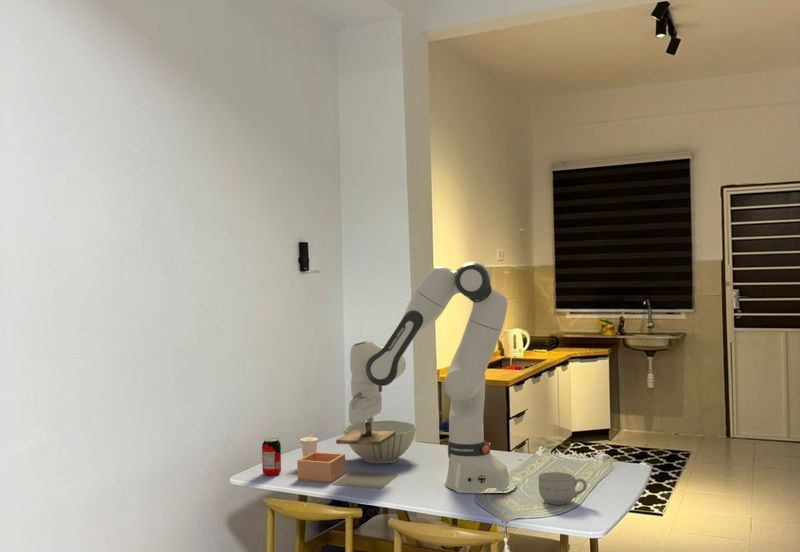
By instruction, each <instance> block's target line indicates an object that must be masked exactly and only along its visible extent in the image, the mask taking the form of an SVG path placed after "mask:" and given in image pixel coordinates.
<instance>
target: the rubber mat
mask: <svg viewBox="0 0 800 552" xmlns="http://www.w3.org/2000/svg"><path fill="white" fill-rule="evenodd" d="M398 476H399V474H392V473H381V472H369V471H367V472H364V471H353V470H352V471H350V472H349V473H347V474H346V475H345V476H343V477H341V478H340V479H339V480H337V481H336V482H334V483H333V484H332V486H336V487H346V488H347V487H348V488H349V487H350V488H361V489H374V490H382V489H383V488H385V487H386V486H387V485H389V484H390V483H391V482H392V481H394V479H396V478H397V477H398Z"/></svg>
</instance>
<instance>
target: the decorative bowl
mask: <svg viewBox="0 0 800 552" xmlns="http://www.w3.org/2000/svg"><path fill="white" fill-rule="evenodd" d="M366 422H367V420H366ZM354 430H360V428H359V425H358V424H351V423H350V424H348V425H346V426H345V427H344V428H343V434H344V435H343V436H345V435H346V434H348V433H350V432H352V431H354ZM372 431H395V434H396V435H395V436H393V437H392V438H390V439H389V440H387V441H386V442H384V443H383V444H381V445H357V444H348V445H349V448H351V450H352V451H353V452H354V453H355V455H357V456H358V457H360V458H362V459H363V462H366V463H371V464H394V463H396V462H397V461H398V458H400V457H401V456H402V455H403V454H404V453H406V452H407V450H409V448H410V447H411V445H412V443H413V441H414V438H415V435H416V433H417V426H416V425H415V424H414V423H411V422H406V421H401V420H386V419H385V420H373V424H372Z"/></svg>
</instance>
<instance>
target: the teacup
mask: <svg viewBox="0 0 800 552" xmlns="http://www.w3.org/2000/svg"><path fill="white" fill-rule="evenodd" d="M537 475H538V476H537V477H538V491H539V493H538V494H539V496H540V497H541V498H542V499H543V500H544V501H545V502H546V503H547V504H550V505H557V504H562V505H566V504H565V503H567V504H569V503H570V502H571V501H572V500H574V499H576V498H577V497H578V496H579V495H581V494H583V493H584V492H585V491H586V490H587V487H588V484H587V480H585V478H582V477H577V478H576V475H575V474H572V473H570V472H569V473H568V472H563V471H561V472H560V471H547V472H541V473H539V474H537ZM578 482H581V483H582V485H583V486H582V488H581V489H580V490H578V491H576V487H577V484H578ZM568 502H569V503H568Z"/></svg>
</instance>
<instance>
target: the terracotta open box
mask: <svg viewBox="0 0 800 552" xmlns="http://www.w3.org/2000/svg"><path fill="white" fill-rule="evenodd" d="M296 466H297V481H305V482H317V483H330V484H331V483H333V482H334V481H336V480H337V479H339V478H340V477H341V476H344V474H346V454H345V453H334V452H332V453H331V452H320V451H319V452H318V451H316V452H312V453H311V454H309V455H307V456H305V457H303V456H302V457H301V458H300V459H298V460H297V465H296Z"/></svg>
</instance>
